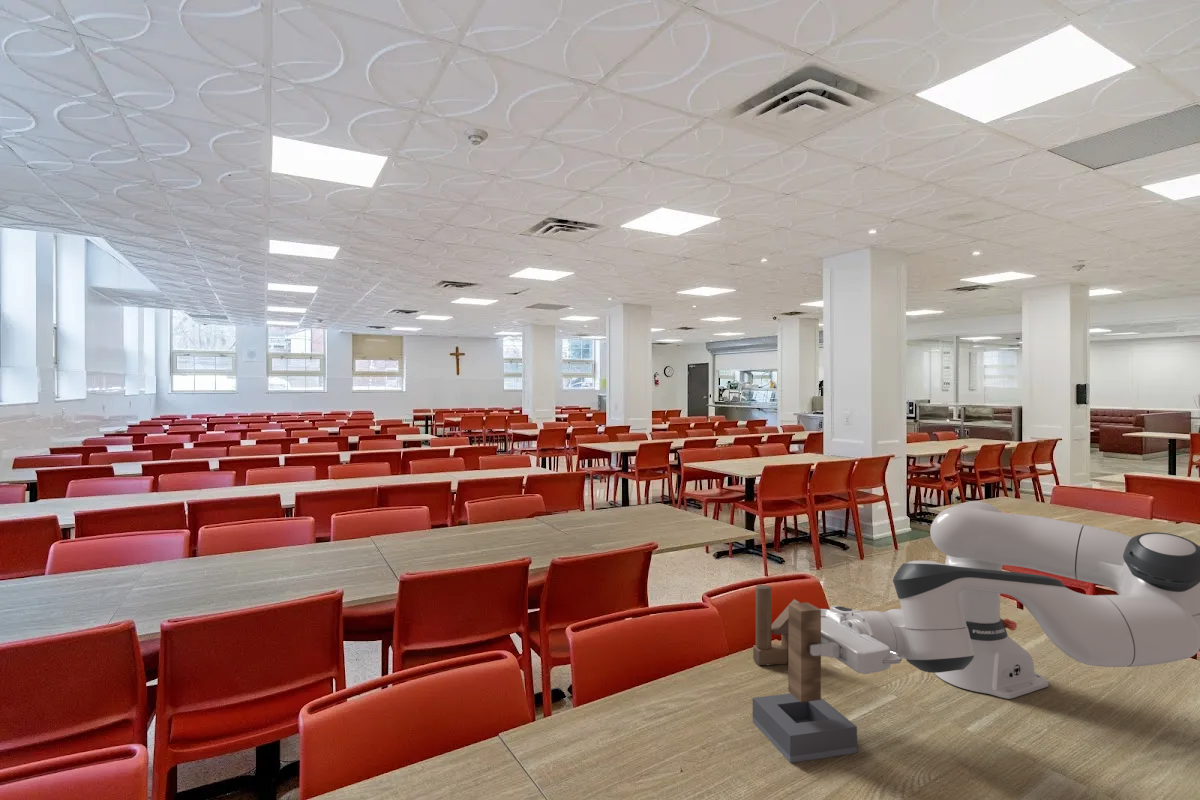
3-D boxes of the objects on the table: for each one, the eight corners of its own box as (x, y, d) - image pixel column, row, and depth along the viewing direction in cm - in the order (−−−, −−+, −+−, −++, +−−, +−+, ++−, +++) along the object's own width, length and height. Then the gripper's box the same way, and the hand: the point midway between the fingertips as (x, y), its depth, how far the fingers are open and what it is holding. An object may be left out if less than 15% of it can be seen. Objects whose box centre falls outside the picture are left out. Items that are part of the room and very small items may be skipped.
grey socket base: (812, 713, 111) (812, 690, 111) (857, 752, 98) (856, 726, 98) (752, 721, 108) (752, 697, 108) (790, 762, 95) (790, 735, 95)
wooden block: (802, 663, 133) (802, 587, 133) (759, 666, 131) (759, 589, 132) (794, 657, 137) (794, 582, 137) (752, 660, 135) (752, 584, 135)
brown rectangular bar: (807, 689, 105) (807, 602, 105) (820, 699, 101) (820, 609, 101) (788, 691, 104) (788, 603, 104) (801, 702, 100) (801, 611, 100)
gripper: (908, 679, 95) (837, 688, 92) (831, 633, 115) (770, 639, 112) (908, 641, 95) (837, 649, 92) (831, 602, 115) (770, 607, 112)
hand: (800, 643), depth 102 cm, fingers closed on brown rectangular bar, 4 cm apart
